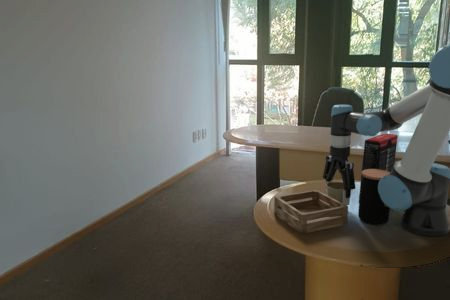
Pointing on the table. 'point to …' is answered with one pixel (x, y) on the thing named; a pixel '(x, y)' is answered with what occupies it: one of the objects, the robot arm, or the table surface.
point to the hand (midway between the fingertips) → (337, 200)
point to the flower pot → (335, 190)
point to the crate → (310, 211)
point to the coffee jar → (372, 198)
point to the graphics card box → (379, 152)
